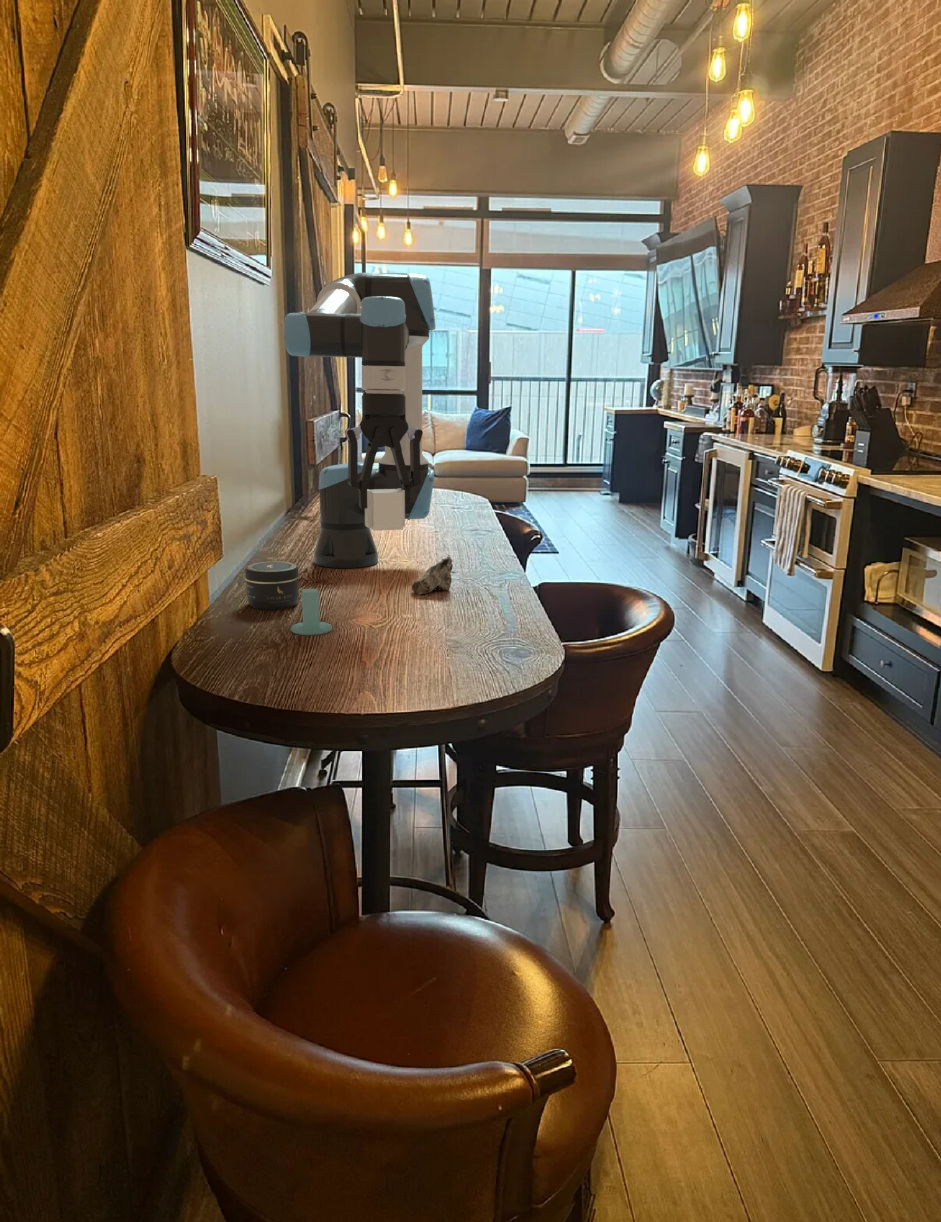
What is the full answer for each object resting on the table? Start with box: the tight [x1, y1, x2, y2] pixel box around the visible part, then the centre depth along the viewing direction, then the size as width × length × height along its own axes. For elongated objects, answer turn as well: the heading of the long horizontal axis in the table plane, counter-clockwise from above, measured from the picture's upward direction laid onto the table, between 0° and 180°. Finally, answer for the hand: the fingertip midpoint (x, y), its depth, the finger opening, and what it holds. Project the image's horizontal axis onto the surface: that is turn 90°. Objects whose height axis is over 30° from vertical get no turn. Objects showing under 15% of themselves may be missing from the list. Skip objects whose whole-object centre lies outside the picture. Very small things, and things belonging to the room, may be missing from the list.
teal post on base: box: [290, 588, 333, 636], centre depth 148 cm, size 7×7×7 cm
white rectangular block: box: [370, 489, 404, 532], centre depth 152 cm, size 5×5×7 cm
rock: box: [411, 554, 454, 596], centre depth 177 cm, size 9×7×10 cm
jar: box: [244, 560, 300, 611], centre depth 164 cm, size 10×10×8 cm
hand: (384, 525), depth 153 cm, fingers closed on white rectangular block, 5 cm apart
